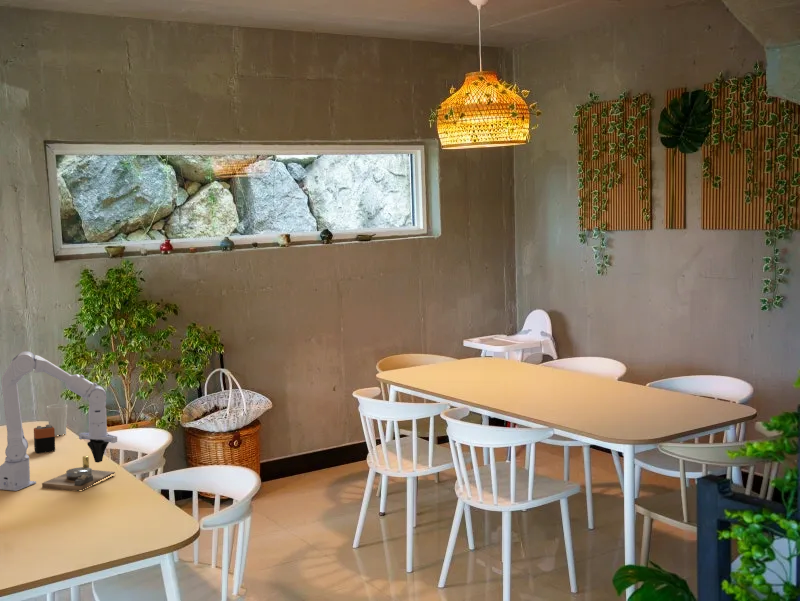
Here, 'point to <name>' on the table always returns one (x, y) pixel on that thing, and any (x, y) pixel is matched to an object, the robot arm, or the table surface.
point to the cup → (57, 417)
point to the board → (71, 483)
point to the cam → (79, 470)
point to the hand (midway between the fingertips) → (98, 461)
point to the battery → (44, 439)
